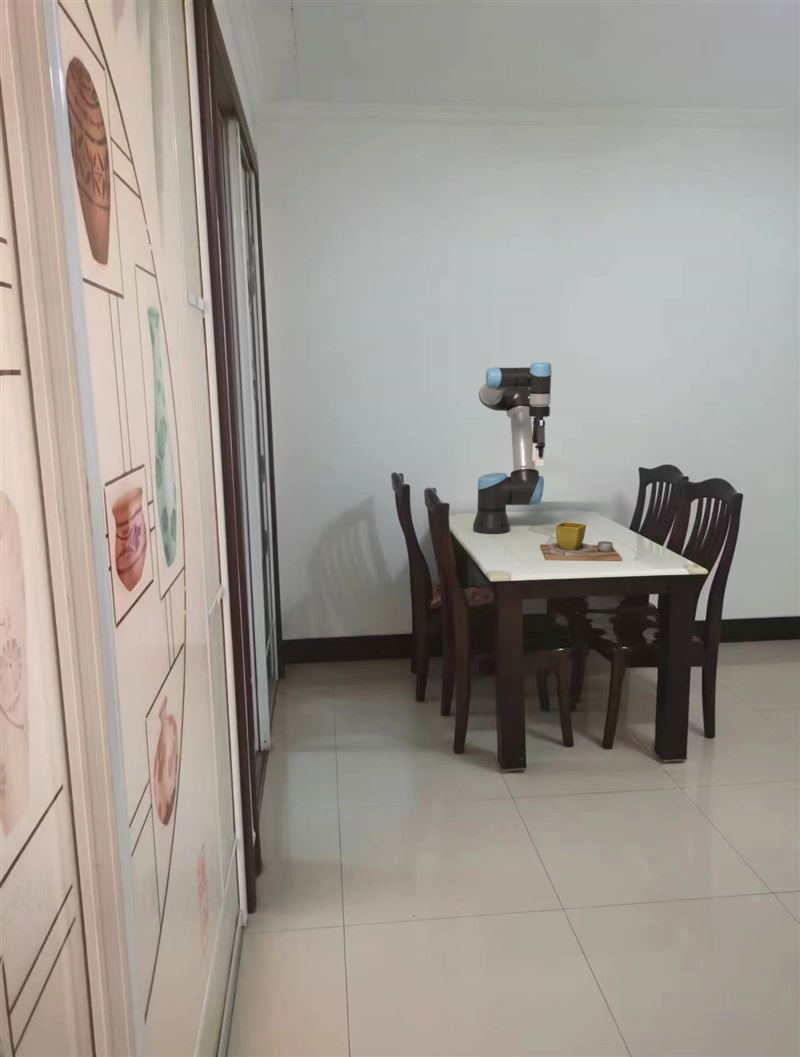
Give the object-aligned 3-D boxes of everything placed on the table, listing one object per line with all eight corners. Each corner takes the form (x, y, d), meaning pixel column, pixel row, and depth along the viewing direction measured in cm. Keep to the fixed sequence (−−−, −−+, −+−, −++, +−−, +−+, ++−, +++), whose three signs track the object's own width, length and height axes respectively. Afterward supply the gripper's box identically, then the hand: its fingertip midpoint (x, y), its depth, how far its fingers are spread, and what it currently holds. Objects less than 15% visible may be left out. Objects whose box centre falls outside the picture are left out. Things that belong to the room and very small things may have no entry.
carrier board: (540, 547, 296) (540, 536, 295) (611, 548, 294) (611, 537, 293) (545, 560, 277) (545, 548, 276) (621, 561, 275) (622, 549, 274)
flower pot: (585, 548, 289) (586, 524, 287) (577, 553, 281) (578, 528, 280) (562, 545, 293) (563, 521, 291) (554, 550, 286) (554, 525, 284)
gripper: (526, 403, 303) (524, 458, 308) (532, 407, 279) (530, 467, 284) (545, 403, 303) (543, 458, 307) (554, 407, 278) (552, 468, 283)
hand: (537, 463), depth 295 cm, fingers open, 13 cm apart
